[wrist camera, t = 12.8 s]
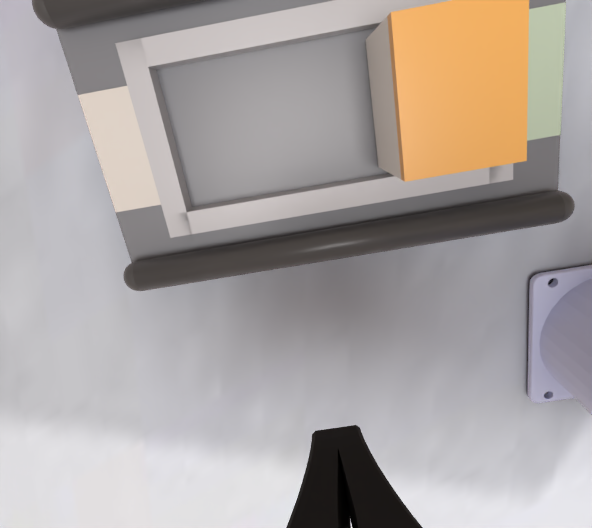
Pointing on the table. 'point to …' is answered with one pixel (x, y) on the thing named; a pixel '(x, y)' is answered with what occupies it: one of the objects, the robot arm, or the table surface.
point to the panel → (278, 135)
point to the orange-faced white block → (450, 87)
